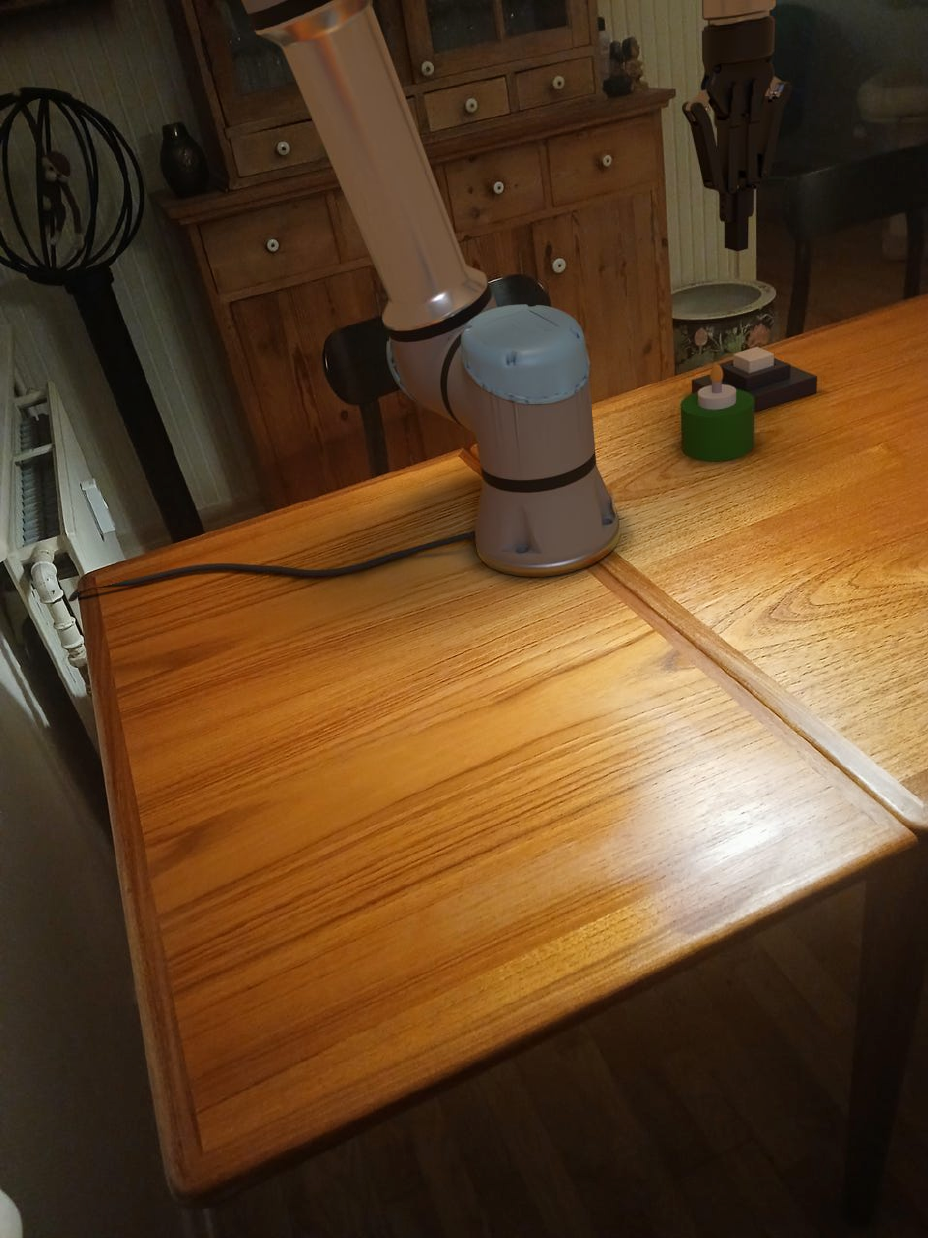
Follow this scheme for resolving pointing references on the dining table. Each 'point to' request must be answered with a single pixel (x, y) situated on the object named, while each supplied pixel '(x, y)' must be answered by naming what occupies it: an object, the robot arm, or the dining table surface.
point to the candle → (717, 421)
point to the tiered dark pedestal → (765, 383)
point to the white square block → (753, 360)
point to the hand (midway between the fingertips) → (736, 247)
